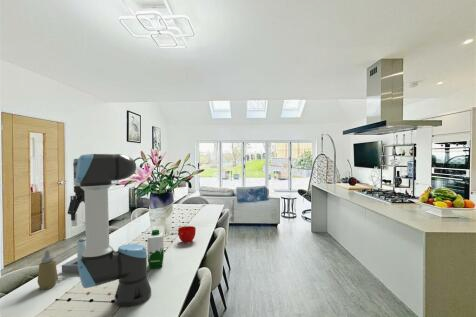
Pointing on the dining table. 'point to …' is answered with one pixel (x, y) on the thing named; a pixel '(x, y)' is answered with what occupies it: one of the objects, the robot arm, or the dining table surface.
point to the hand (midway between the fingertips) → (82, 223)
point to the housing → (71, 266)
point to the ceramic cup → (186, 233)
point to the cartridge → (81, 247)
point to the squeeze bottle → (47, 272)
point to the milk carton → (155, 249)
